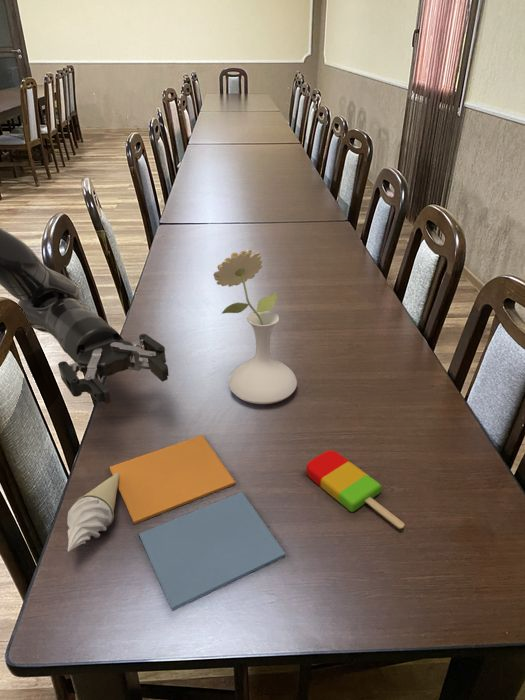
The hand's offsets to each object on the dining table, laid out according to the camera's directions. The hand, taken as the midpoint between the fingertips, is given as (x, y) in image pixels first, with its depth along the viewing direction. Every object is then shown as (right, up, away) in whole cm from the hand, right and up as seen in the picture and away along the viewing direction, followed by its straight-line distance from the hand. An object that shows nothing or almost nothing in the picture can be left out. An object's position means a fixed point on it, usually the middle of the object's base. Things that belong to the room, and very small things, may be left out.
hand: (137, 386), depth 72 cm
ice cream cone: (-3, -12, 0) cm, 12 cm away
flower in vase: (+16, -2, +18) cm, 25 cm away
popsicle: (+29, -14, -2) cm, 33 cm away
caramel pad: (+4, -12, +1) cm, 13 cm away
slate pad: (+11, -18, -9) cm, 23 cm away
